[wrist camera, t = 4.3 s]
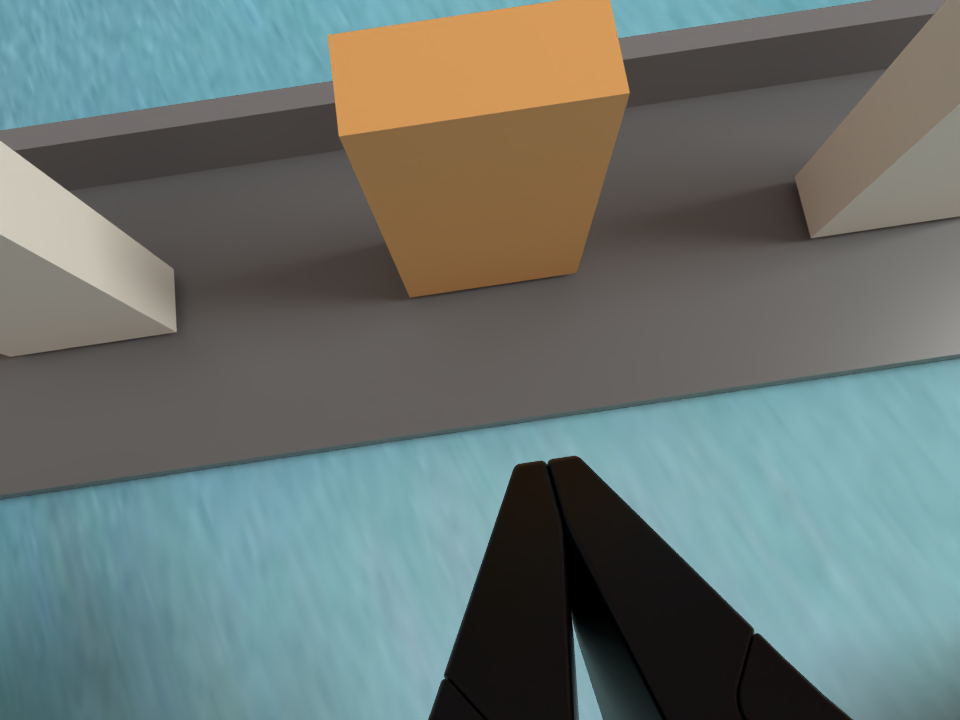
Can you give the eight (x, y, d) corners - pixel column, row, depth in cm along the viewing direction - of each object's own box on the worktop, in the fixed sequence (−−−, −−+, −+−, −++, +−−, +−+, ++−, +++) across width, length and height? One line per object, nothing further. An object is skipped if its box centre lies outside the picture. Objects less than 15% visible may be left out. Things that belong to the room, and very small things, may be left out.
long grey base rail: (1072, 341, 21) (1182, 307, 17) (-42, 505, 21) (-149, 503, 18) (973, 53, 23) (1054, -27, 20) (-35, 203, 23) (-128, 149, 20)
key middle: (576, 272, 21) (629, 93, 12) (409, 297, 21) (338, 136, 12) (565, 211, 21) (608, -7, 12) (402, 235, 21) (327, 35, 12)
